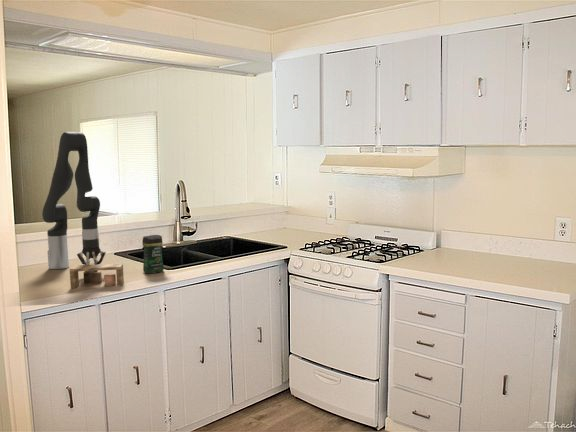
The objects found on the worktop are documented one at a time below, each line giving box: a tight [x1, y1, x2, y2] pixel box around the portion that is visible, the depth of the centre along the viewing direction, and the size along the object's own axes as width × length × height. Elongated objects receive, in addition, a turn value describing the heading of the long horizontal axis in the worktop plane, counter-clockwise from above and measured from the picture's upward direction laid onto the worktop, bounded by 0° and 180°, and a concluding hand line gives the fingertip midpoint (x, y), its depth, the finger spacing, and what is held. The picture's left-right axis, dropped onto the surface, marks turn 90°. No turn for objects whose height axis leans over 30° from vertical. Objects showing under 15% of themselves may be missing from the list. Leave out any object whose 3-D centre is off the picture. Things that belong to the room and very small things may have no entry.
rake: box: [82, 262, 103, 284], centre depth 263 cm, size 8×20×5 cm, turn 9°
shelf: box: [69, 263, 125, 289], centre depth 249 cm, size 22×7×9 cm, turn 99°
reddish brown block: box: [103, 273, 117, 287], centre depth 250 cm, size 5×5×4 cm
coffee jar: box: [141, 234, 164, 274], centre depth 273 cm, size 10×8×19 cm
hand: (92, 272), depth 267 cm, fingers closed on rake, 2 cm apart
